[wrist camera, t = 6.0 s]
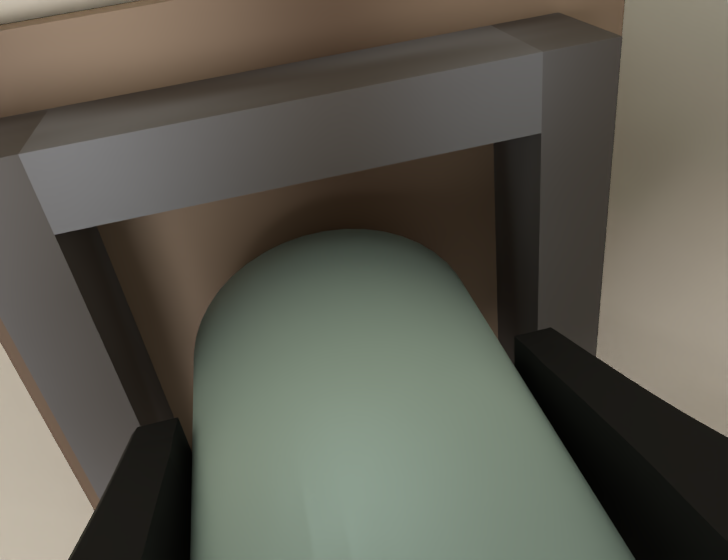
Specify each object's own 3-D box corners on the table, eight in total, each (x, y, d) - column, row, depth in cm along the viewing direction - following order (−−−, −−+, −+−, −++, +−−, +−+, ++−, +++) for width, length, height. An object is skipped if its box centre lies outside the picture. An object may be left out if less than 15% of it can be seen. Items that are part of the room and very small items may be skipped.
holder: (125, 541, 16) (114, 644, 14) (-140, 49, 10) (-239, 98, 7) (577, 424, 17) (630, 501, 15) (611, -83, 11) (713, -73, 9)
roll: (246, 485, 13) (280, 975, 7) (146, 281, 10) (72, 824, 4) (487, 410, 14) (704, 823, 8) (455, 191, 11) (768, 588, 5)
